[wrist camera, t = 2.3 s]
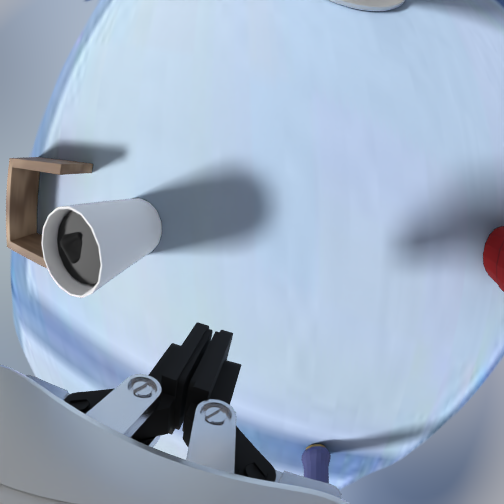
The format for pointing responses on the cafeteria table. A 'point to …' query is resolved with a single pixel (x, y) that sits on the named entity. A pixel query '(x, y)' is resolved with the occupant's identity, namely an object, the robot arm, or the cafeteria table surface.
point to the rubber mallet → (316, 462)
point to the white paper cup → (97, 242)
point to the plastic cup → (495, 256)
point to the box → (31, 201)
